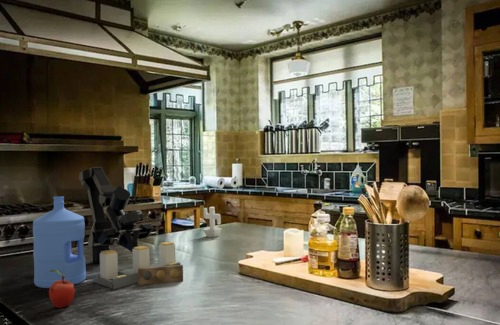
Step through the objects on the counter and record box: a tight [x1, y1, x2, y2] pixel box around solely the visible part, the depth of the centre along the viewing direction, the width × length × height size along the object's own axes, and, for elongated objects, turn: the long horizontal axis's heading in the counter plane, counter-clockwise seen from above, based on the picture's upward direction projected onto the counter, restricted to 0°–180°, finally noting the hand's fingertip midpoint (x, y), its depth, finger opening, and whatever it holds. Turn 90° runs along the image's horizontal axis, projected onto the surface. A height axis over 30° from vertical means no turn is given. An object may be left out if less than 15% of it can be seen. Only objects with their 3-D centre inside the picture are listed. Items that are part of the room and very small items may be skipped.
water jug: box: [32, 195, 87, 289], centre depth 139 cm, size 16×16×28 cm
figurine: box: [202, 206, 223, 238], centre depth 217 cm, size 7×9×15 cm
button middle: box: [131, 245, 151, 273], centre depth 143 cm, size 4×4×9 cm
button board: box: [93, 261, 181, 290], centre depth 144 cm, size 12×26×3 cm, turn 138°
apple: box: [48, 270, 76, 309], centre depth 115 cm, size 8×7×10 cm
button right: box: [158, 241, 177, 266], centre depth 150 cm, size 4×4×9 cm
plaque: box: [137, 264, 184, 286], centre depth 136 cm, size 14×2×5 cm, turn 103°
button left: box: [99, 249, 119, 280], centre depth 138 cm, size 4×4×9 cm
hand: (136, 253), depth 144 cm, fingers closed, pressing on button middle
